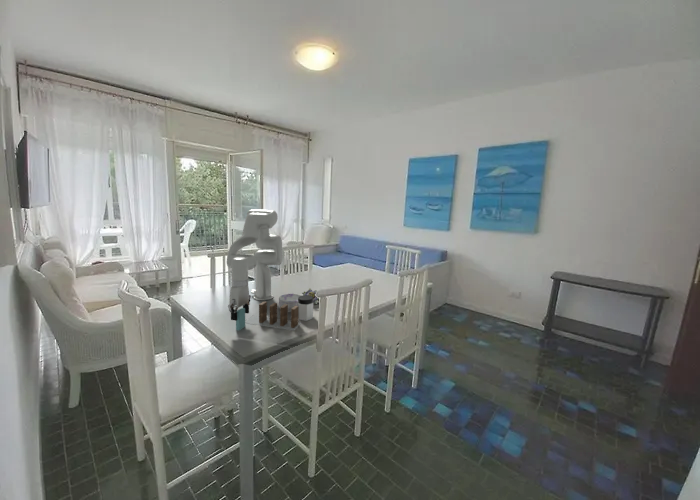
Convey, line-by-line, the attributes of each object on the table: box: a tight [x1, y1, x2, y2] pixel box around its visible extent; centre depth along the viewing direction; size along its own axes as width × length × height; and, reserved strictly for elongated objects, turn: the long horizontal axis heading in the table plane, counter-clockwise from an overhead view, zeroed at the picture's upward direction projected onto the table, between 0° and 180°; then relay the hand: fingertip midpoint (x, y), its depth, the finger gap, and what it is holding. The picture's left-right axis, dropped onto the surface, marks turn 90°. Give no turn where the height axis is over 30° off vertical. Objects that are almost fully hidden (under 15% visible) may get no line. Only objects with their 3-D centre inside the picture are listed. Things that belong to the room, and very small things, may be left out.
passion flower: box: [301, 288, 319, 305], centre depth 182 cm, size 11×11×12 cm
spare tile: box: [235, 307, 246, 331], centre depth 143 cm, size 2×5×10 cm, turn 167°
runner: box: [245, 314, 302, 331], centre depth 152 cm, size 29×10×1 cm, turn 77°
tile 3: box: [269, 302, 278, 325], centre depth 151 cm, size 2×5×10 cm, turn 167°
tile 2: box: [258, 300, 268, 323], centre depth 152 cm, size 2×5×10 cm, turn 167°
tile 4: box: [279, 304, 289, 326], centre depth 149 cm, size 2×5×10 cm, turn 167°
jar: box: [298, 294, 314, 322], centre depth 159 cm, size 9×8×12 cm
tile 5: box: [290, 306, 299, 328], centre depth 148 cm, size 2×5×10 cm, turn 167°
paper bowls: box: [278, 293, 303, 313], centre depth 171 cm, size 15×15×8 cm
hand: (240, 316), depth 142 cm, fingers open, 9 cm apart
